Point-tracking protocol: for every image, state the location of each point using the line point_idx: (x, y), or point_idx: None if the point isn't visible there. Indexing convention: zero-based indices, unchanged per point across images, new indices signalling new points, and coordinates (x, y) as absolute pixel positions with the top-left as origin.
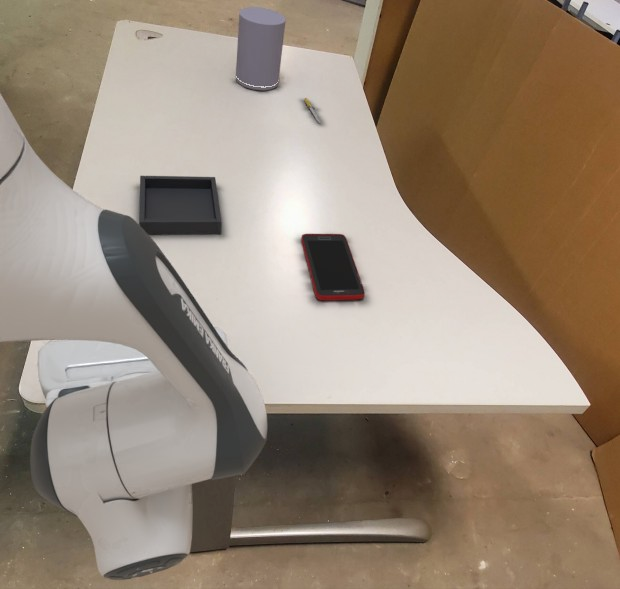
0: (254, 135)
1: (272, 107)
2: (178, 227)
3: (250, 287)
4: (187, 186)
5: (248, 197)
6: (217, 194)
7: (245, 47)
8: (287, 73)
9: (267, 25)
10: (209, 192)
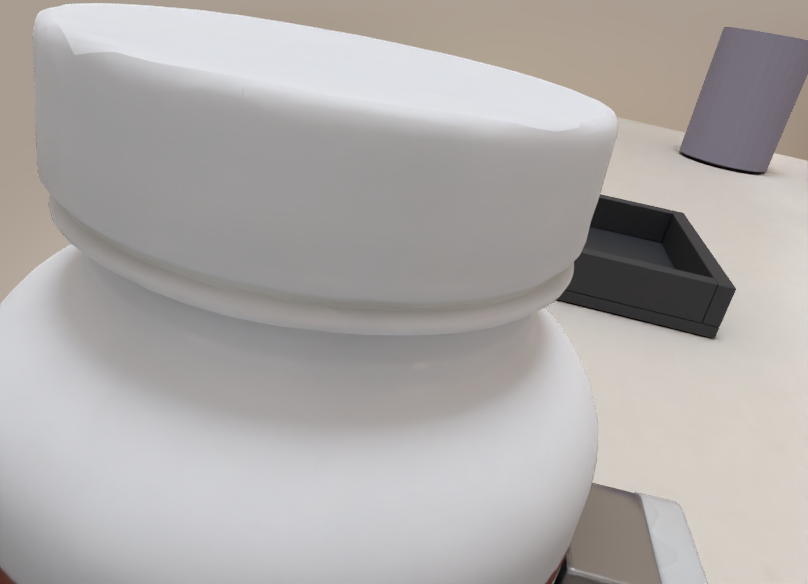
0: (743, 208)
1: (766, 189)
2: (578, 275)
3: None
4: (600, 222)
5: (773, 287)
6: (700, 238)
7: (724, 83)
8: (776, 168)
9: (788, 38)
10: (659, 247)
